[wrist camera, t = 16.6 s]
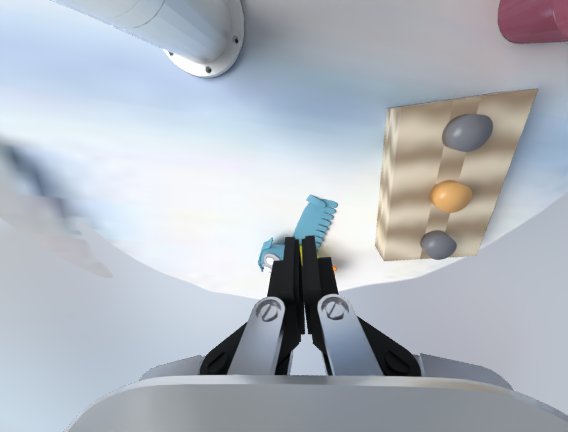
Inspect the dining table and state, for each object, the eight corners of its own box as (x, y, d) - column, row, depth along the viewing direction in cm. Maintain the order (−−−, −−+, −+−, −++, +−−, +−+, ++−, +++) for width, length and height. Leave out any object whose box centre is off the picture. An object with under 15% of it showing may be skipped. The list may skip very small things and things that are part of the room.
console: (386, 108, 31) (401, 108, 27) (502, 91, 30) (538, 88, 25) (375, 245, 43) (383, 261, 39) (457, 240, 41) (476, 255, 37)
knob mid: (420, 175, 34) (442, 186, 29) (449, 172, 34) (476, 183, 28) (416, 199, 36) (435, 214, 31) (443, 196, 36) (467, 211, 30)
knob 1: (412, 221, 38) (430, 239, 33) (437, 219, 38) (459, 237, 33) (409, 241, 40) (425, 260, 35) (433, 239, 40) (453, 258, 35)
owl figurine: (308, 331, 45) (242, 314, 44) (307, 299, 53) (251, 284, 52) (367, 229, 32) (275, 201, 31) (354, 206, 40) (281, 183, 39)
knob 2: (431, 116, 30) (458, 117, 25) (463, 111, 30) (498, 111, 24) (425, 146, 32) (449, 153, 27) (456, 143, 32) (486, 149, 26)
